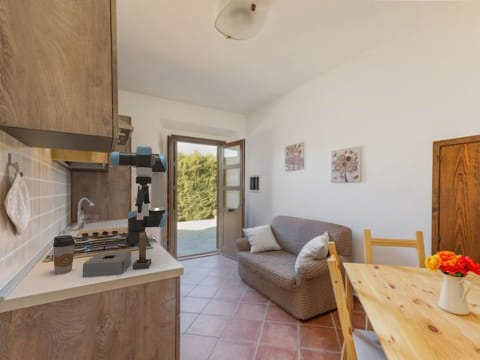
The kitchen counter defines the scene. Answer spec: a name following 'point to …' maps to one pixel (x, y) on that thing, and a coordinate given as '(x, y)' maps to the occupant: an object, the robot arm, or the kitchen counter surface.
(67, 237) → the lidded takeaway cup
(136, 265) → the socket
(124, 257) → the box
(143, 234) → the stylus
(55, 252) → the coffee cup
